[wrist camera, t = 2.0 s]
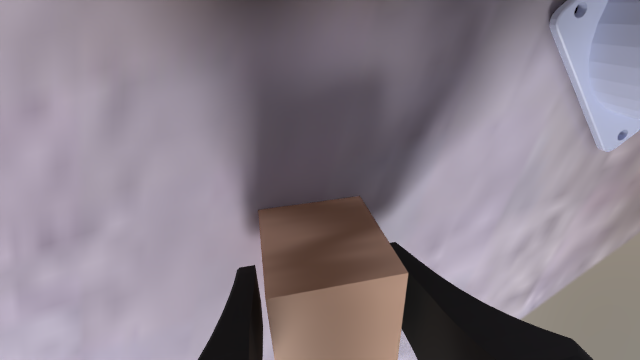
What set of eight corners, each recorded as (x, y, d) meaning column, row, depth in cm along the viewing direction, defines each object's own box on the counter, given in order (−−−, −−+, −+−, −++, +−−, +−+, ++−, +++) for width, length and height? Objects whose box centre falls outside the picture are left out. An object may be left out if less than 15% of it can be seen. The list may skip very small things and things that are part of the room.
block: (359, 195, 15) (408, 272, 10) (357, 270, 17) (397, 361, 12) (258, 209, 14) (265, 299, 10) (268, 286, 16) (279, 388, 12)
